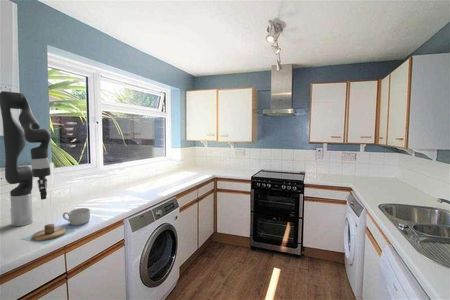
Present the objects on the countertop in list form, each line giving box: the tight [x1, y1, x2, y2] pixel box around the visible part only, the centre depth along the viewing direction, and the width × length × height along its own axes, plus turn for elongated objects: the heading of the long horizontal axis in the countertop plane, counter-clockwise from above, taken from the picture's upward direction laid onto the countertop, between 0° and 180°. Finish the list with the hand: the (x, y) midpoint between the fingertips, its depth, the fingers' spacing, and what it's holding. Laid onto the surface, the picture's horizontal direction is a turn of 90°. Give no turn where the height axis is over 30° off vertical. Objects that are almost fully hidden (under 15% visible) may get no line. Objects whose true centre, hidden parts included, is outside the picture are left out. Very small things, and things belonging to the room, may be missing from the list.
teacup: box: [62, 207, 91, 226], centre depth 137 cm, size 14×11×8 cm
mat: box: [22, 226, 76, 245], centre depth 120 cm, size 16×16×1 cm
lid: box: [31, 223, 66, 241], centre depth 120 cm, size 14×14×5 cm
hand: (44, 197), depth 124 cm, fingers open, 8 cm apart
